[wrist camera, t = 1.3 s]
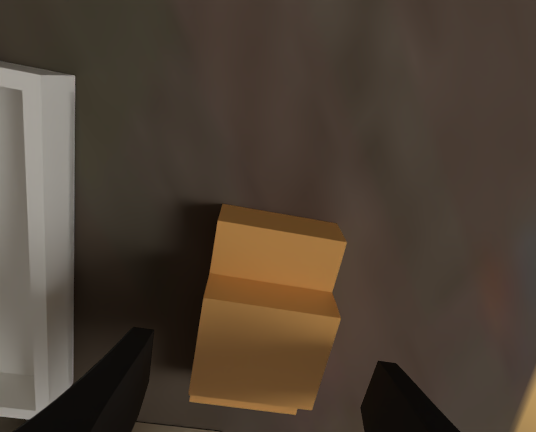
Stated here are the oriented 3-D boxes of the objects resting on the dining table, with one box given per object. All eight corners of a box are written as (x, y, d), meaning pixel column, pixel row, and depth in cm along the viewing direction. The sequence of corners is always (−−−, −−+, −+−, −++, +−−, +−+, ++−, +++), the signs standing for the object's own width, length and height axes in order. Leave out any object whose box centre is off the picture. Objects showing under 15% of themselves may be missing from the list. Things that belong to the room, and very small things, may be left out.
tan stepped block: (223, 200, 14) (212, 239, 11) (335, 220, 14) (357, 263, 11) (197, 364, 17) (181, 436, 13) (291, 377, 17) (299, 449, 14)
